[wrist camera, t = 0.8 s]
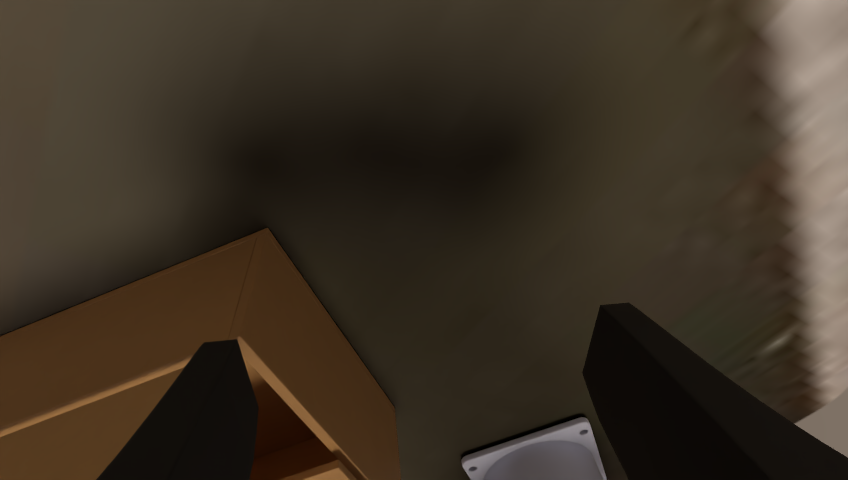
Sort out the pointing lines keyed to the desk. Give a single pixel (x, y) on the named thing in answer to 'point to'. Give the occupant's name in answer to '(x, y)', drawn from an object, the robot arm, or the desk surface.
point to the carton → (205, 322)
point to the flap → (80, 436)
